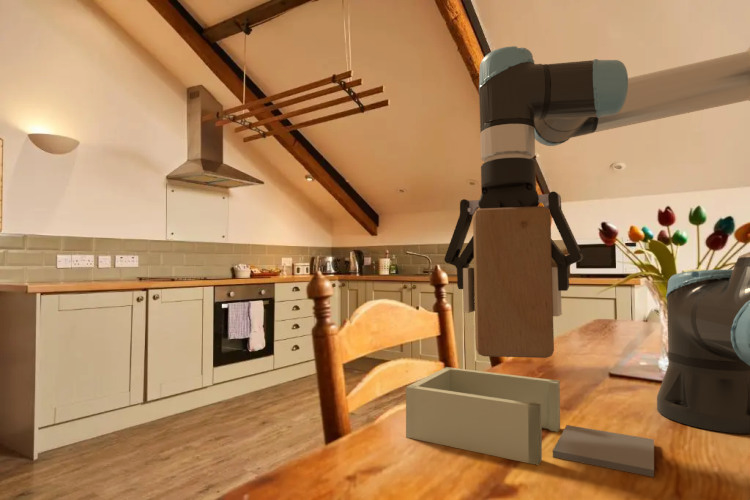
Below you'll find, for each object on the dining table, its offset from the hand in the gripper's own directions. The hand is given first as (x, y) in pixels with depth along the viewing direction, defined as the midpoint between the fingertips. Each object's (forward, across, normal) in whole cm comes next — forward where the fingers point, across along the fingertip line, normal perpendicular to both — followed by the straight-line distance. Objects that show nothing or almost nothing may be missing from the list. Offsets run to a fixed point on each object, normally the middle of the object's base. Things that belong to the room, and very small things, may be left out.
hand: (511, 313), depth 67 cm
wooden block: (+6, 0, 0) cm, 6 cm away
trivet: (+18, -11, -1) cm, 21 cm away
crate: (+17, +4, 0) cm, 18 cm away
